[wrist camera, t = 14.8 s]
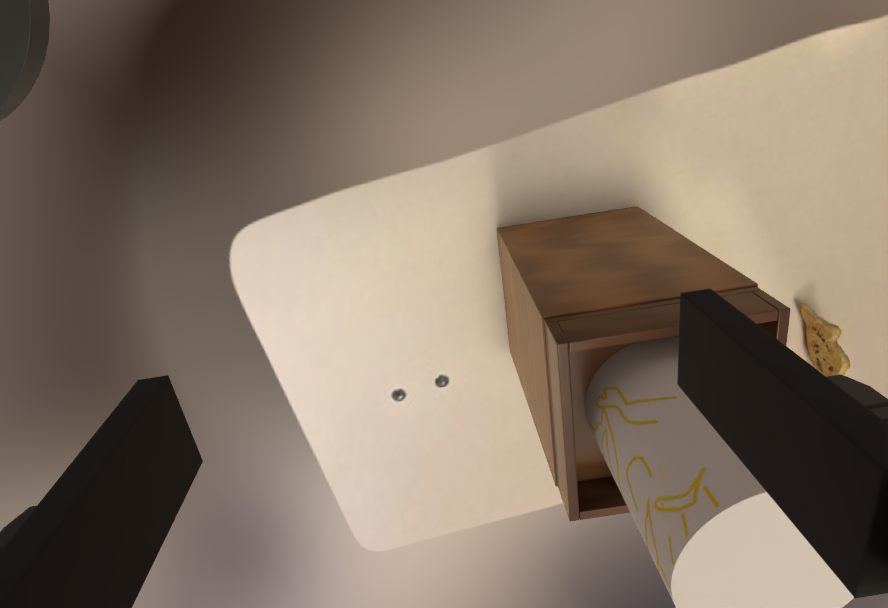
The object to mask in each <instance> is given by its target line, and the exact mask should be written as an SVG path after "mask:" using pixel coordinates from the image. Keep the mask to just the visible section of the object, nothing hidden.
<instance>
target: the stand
mask: <svg viewBox="0 0 888 608" xmlns="http://www.w3.org/2000/svg"><path fill="white" fill-rule="evenodd" d="M497 236H498V245H499V254H500V263H501V272H502V281H503V290H504V299H505V308H506V317H507V326H508V335H509V344H510V352H511V355H512V358H513V361H514V364H515V367H516V370H517V373H518V376H519V379H520V382H521V385H522V388H523V391H524V394H525V397H526V400H527V403H528V406H529V409H530V411H531V414H532V417H533V420H534V423H535V426H536V429H537V432H538V435H539V438H540V441H541V444H542V447H543V450H544V453H545V456H546V459H547V462H548V465H549V468H550V471H551V473H552V476H553V479H554V482H555V485H556V486H558V485H557V473H556V461H555V449H554V437H553V424H552V412H551V400H550V388H549V375H548V363H547V351H546V339H545V327H544V319H547V318H554V317H560V316H567V315H573V314H580V313H586V312H593V311H599V310H606V309H612V308H619V307H625V306H632V305H638V304H645V303H651V302H658V301H664V300H671V299H677V298H680V293H684V292H690V291H697V290H703V289H709V288H710V289H712V290H713V291H714V292H723V291H729V290H736V289H742V288H749V287H755V286H756V287H758V284H757V283H755V282H754V281H752V280H751V279H749V278H748V277H746V276H745V275H743V274H741V273H740V272H738V271H737V270H735V269H734V268H732V267H731V266H729V265H727V264H726V263H724V262H723V261H721V260H720V259H718V258H717V257H715V256H714V255H712V254H710V253H709V252H707V251H706V250H704V249H703V248H701V247H700V246H698V245H696V244H695V243H693V242H692V241H690V240H689V239H687V238H686V237H684V236H683V235H681V234H679V233H678V232H676V231H675V230H673V229H672V228H670V227H669V226H667V225H665V224H664V223H662V222H661V221H659V220H658V219H656V218H655V217H653V216H651V215H650V214H648V213H647V212H645V211H644V210H642V209H641V208H639V207H632V208H625V209H619V210H612V211H606V212H600V213H593V214H587V215H580V216H574V217H567V218H561V219H555V220H548V221H542V222H535V223H529V224H522V225H516V226H510V227H503V228H497Z"/></svg>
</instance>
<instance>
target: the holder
mask: <svg viewBox="0 0 888 608" xmlns="http://www.w3.org/2000/svg"><path fill="white" fill-rule="evenodd" d="M716 293H717V294H718V295H720V296H721V297H722V298H724V299H725V300H726V301H727V302H729V303H730V304H731V305H733V306H734V307H735V308H737V309H738V310H739V311H741V312H742V313H743V314H744V315H746V316H747V317H748V318H750V319H751V320H752V321H754V322H755V323H756V324H758V325H759V326H760V327H761V328H763V329H764V330H765V331H767V332H768V333H769V334H771V335H772V336H773V337H775V338H776V339H777V340H778V341H780V342H781V343H782V344H784V345H785V346H786V343H787V334H788V325H789V316H790V308H788V307H787V306H785V305H784V304H782V303H781V302H779V301H778V300H776V299H775V298H773V297H772V296H770V295H769V294H767V293H766V292H764V291H762V290H761V289H759V288H758V287H756V286H755V287H749V288H742V289H736V290H729V291H723V292H716ZM679 321H680V298H677V299H671V300H664V301H658V302H651V303H645V304H638V305H632V306H625V307H619V308H612V309H606V310H599V311H593V312H586V313H580V314H573V315H567V316H560V317H554V318H547V319H544V327H545V339H546V351H547V363H548V375H549V388H550V400H551V412H552V424H553V437H554V449H555V461H556V473H557V485H558V488H559V491H560V494H561V497H562V500H563V503H564V506H565V509H566V511H567V514H568V517H569V520H570V521H575V520H579V519H580V520H582V519H589V518H596V517H602V516H609V515H616V514H622V513H628V512H630V511H629V509H628V507H627V505H626V503H625V500H624V498H623V496H622V494H621V492H620V490H619V488H618V486H617V484H616V482H615V480H614V478H613V476H612V473H611V471H610V469H609V467H608V465H607V463H606V461H605V459H604V457H603V455H602V453H601V451H600V449H599V447H598V444H597V442H596V440H595V438H594V436H593V434H592V432H591V430H590V428H589V426H588V423H587V420H586V416H585V397H586V393H587V390H588V387H589V385H590V382H591V380H592V378H593V377H594V375H595V374H596V372H597V371H598V370H599V368H600V367H601V366H602V365H603V364H604V363H605V362H606V361H607V360H608V359H609V358H610V357H611V356H613V355H614V354H615V353H617V352H618V351H620V350H621V349H623V348H625V347H627V346H629V345H631V344H633V343H635V342H641V341H647V340H654V339H660V338H667V337H679Z"/></svg>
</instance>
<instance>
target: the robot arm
mask: <svg viewBox="0 0 888 608" xmlns="http://www.w3.org/2000/svg"><path fill="white" fill-rule="evenodd" d="M677 385H678V386H679V387H680V388H681V390H682V391H683V392H684V393H685V394H686V396H687V397H688V398H689V399H690V400H691V402H692V403H693V404H694V405H695V406H696V408H697V409H698V410H699V411H700V412H701V414H702V415H703V416H704V417H705V418H706V420H707V421H708V422H709V423H710V424H711V426H712V427H713V428H714V429H715V430H716V432H717V433H718V434H719V435H720V436H721V438H722V439H723V440H724V441H725V442H726V444H727V445H728V446H729V447H730V448H731V450H732V451H733V452H734V453H735V454H736V456H737V457H738V458H739V459H740V461H741V462H742V463H743V464H744V465H745V467H746V468H747V469H748V470H749V471H750V473H751V474H752V475H753V476H754V477H755V479H756V480H757V481H758V482H759V483H760V485H761V486H762V487H763V488H764V489H765V491H766V492H767V493H768V494H769V495H770V497H771V498H772V499H773V500H774V501H775V503H776V504H777V505H778V506H779V507H780V509H781V510H782V511H783V512H784V513H785V515H786V516H787V517H788V518H789V519H790V521H791V522H792V523H793V524H794V525H795V527H796V528H797V529H798V530H799V532H800V533H801V534H802V535H803V536H804V538H805V539H806V540H807V541H808V542H809V544H810V545H811V546H812V547H813V548H814V550H815V551H816V552H817V553H818V554H819V556H820V557H821V558H822V559H823V560H824V562H825V563H826V564H827V565H828V566H829V568H830V569H831V570H832V571H833V572H834V574H835V575H836V576H837V577H838V578H839V580H840V581H841V582H842V583H843V584H844V586H845V587H846V588H847V589H848V590H849V592H850V593H851V594H852V595H853V596H854V598H859V597H866V596H872V595H878V594H884V593H888V399H887V398H885V397H884V396H883V395H881V394H880V393H878V392H877V391H876V390H874V389H873V388H871V387H870V386H868V385H865V384H863V383H861V382H858V381H856V380H853V379H851V378H848V377H846V376H844V375H841V374H840V375H833V376H827V377H826V376H824V375H823V374H822V373H820V372H819V371H818V370H816V369H815V368H814V367H813V366H811V365H810V364H809V363H807V362H806V361H805V360H803V359H802V358H801V357H799V356H798V355H797V354H796V353H794V352H793V351H792V350H790V349H789V348H788V347H786V346H785V345H784V344H782V343H781V342H780V341H778V340H777V339H776V338H775V337H773V336H772V335H771V334H769V333H768V332H767V331H765V330H764V329H763V328H761V327H760V326H759V325H758V324H756V323H755V322H754V321H752V320H751V319H750V318H748V317H747V316H746V315H744V314H743V313H742V312H741V311H739V310H738V309H737V308H735V307H734V306H733V305H731V304H730V303H729V302H727V301H726V300H725V299H724V298H722V297H721V296H720V295H718V294H717V293H716V292H714V291H713V290H712V289H710V288H709V289H703V290H697V291H690V292H684V293H680V321H679V352H678V382H677ZM202 462H203V461H202V458H201V456H200V453H199V451H198V448H197V446H196V443H195V441H194V438H193V436H192V434H191V431H190V428H189V426H188V423H187V421H186V419H185V416H184V414H183V411H182V409H181V406H180V404H179V401H178V399H177V396H176V394H175V391H174V389H173V386H172V384H171V382H170V379H169V377H168V376H161V377H155V378H149V379H143V380H138V381H137V382H136V383H135V385H134V386H133V387H132V388H131V390H130V391H129V392H128V393H127V395H126V396H125V397H124V398H123V400H122V401H121V402H120V403H119V405H118V406H117V407H116V408H115V409H114V411H113V412H112V413H111V414H110V416H109V417H108V418H107V420H106V421H105V422H104V423H103V425H102V426H101V427H100V428H99V429H98V431H97V432H96V433H95V435H94V436H93V437H92V438H91V439H90V441H89V442H88V443H87V444H86V446H85V447H84V448H83V449H82V451H81V452H80V453H79V454H78V456H77V457H76V458H75V460H74V461H73V462H72V463H71V464H70V466H69V467H68V468H67V469H66V471H65V472H64V473H63V474H62V476H61V477H60V478H59V479H58V481H57V482H56V483H55V484H54V486H53V487H52V488H51V489H50V491H49V492H48V493H47V494H46V495H45V497H44V498H43V499H42V501H41V502H40V503H39V504H38V506H32V507H29V508H28V509H27V510H25V511H24V512H23V513H22V514H21V515H19V516H18V517H17V518H15V519H14V520H13V521H12V522H10V523H9V524H8V525H7V526H6V527H4V528H3V529H2V531H1V532H0V608H132V606H133V604H134V602H135V600H136V598H137V596H138V593H139V592H140V589H141V587H142V585H143V583H144V581H145V579H146V577H147V575H148V573H149V571H150V569H151V567H152V565H153V563H154V561H155V559H156V557H157V554H158V552H159V550H160V548H161V546H162V544H163V542H164V540H165V538H166V536H167V534H168V532H169V530H170V528H171V526H172V523H173V522H174V519H175V517H176V515H177V513H178V511H179V509H180V507H181V505H182V503H183V501H184V499H185V497H186V495H187V493H188V491H189V489H190V486H191V484H192V482H193V480H194V478H195V476H196V474H197V472H198V470H199V468H200V466H201V464H202Z"/></svg>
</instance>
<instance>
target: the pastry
mask: <svg viewBox="0 0 888 608" xmlns="http://www.w3.org/2000/svg"><path fill="white" fill-rule="evenodd" d="M800 309H801V313H802V316H803V319H804V321H805V323H806V326H807V330H806V336H807V342H808V351H809V353H810V356H811V358H812V361H813V364H814V366H815V367H816V369H817V370H818V371H819V372H820V373H822V374H823V375H824V376H826V377H827V376H833V375H840V374H841V375H844V376H845V374H846V372H847V370H848V369H849V368H850V360H849V358H848V356H847V355H846V354H845V353H844V351H843V349H842V348H841V346H840V345H839V344H838V343H837V339H838V338H839V337H840V335H841V329H840V328H839V327H838V326H836V325H834V324H831V323H829V322H827V321H826V320H824V319H822V318H821V317H819V316H817V315H816V314H815V313H814V312H813V311H812V310H811V309H810V308H809V307H808V306H806V305H805V304H803V303H801V306H800Z"/></svg>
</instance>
